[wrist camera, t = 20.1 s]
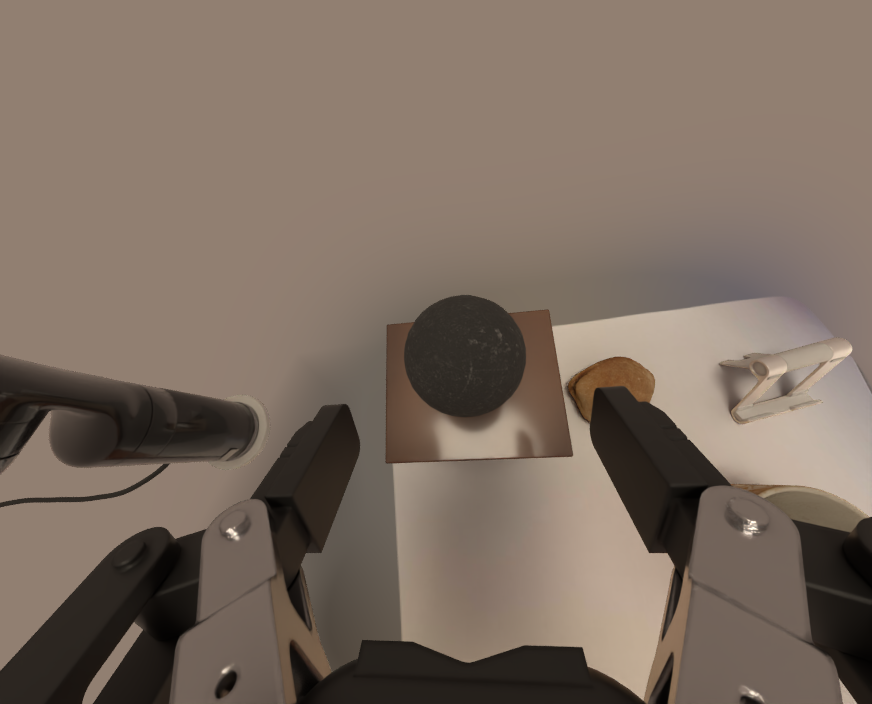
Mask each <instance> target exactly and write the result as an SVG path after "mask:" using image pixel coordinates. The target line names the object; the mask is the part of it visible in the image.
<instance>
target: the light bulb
mask: <svg viewBox="0 0 872 704" xmlns="http://www.w3.org/2000/svg"><path fill="white" fill-rule="evenodd" d="M404 363H405V369H406V374H407V376H408V378H409V381H410V383H411V385H412V388H413V389H414V390H415V392H416V393H417V394H418V395H419V396H420V398H421V399H422V400H423V401H424V402H426V403H427V404H428V405H429V406H430V407H432V408H434V409H436V410H437V411H439V412H441V413H444V414H448V415H451V416H457V417H473V416H480V415H483V414H486V413H489V412H491V411H493V410H495V409H496V408H498V407H500V406H501V405H502V404H503V403H505V402H506V401H507V400H508V399H509V398H510V397H511V396H512V395H513V394H514V392H515V391H516V389H517V388H518V386H519V384H520V382H521V380H522V377H523V373H524V369H525V365H526V347H525V343H524V339H523V335H522V333H521V330H520V328H519V327H518V325H517V324H516V322H515V321H514V319H513V318H512V317H511V316H510V315H509V314H508V313H507V312H506V311H505V310H504V309H503V308H502V307H500V306H499V305H497V304H496V303H494V302H492V301H490V300H487V299H484V298H480V297H476V296H471V295H460V296H453V297H449V298H446V299H443V300H440V301H438V302H437V303H434V304H433V305H431V306H430V307H428V308H427V309H426V310H425V311H424V312H422V313H421V314H420V316H419V317H418V318H417V319H416V320H415V322H414V324H413V325H412V327H411V329H410V330H409V332H408V336H407V339H406V342H405V347H404Z"/></svg>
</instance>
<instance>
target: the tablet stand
mask: <svg viewBox="0 0 872 704" xmlns="http://www.w3.org/2000/svg"><path fill="white" fill-rule="evenodd" d="M851 351H852V346H851V345H850V343H849V342H848V341H846V340H845V339H842V338H831V339H828V340H824V341H820V342H817V343H813V344H810V345H806V346H802V347H799V348H795V349H792V350H788V351H785V352H781V353H777V354H774V355H770V354H760V353H752V354H748V355H745V356H744V357H745V358H748V359H744V360H740V361H734V360H727V361H723V362H720V364H721V365H725V366H732V367H739V368H746V369H750V370H751V372H752V373H753V374H754V375H755V376H756V377H757V379H758V383H757V384H756V385H755V387H754V388H753V389H752V390H751V391H750V392H749V393H748V394H747V395H746V396H745V397H744V398H743V399H742V400H741V401H740V402H739V403H738V404H737V405H736V407H735V408H734V409H733V410H732V411H731V414H732V417H733V419H734V420H735V421H736V422H738V423H740V424H745V423H749V422H753V421H756V420H760V419H764V418H768V417H771V416H775V415H779V414H783V413H786V412H790V411H794V410H797V409H801V408H805V407H809V406H812V405H816V404H819V403H823V402H822V400H813V399H812V398H811V397H810V396H809V395H807V394H806V393H807V391H808V389H809V388H810V387H811V386H812V385H813V384H815V383H816V382H817V381H818V380H819V379H821V378H822V377H823V376H824V375H825V374H827V373H828V372H829V371H830V370H831V369H833V368H834V367H835V366H836V365H837V364H838V363H840V362H841V361H842V360H843V359H845V358H846V356H848V355H849V354H850V353H851ZM818 363H820V365H819V366H818V367H817V368H816V369H815V370H814V371H813V372H812V373H811V374H810V375H808V376H807V377H806V378H805V379H804V380H803V381H802V382H801V383H799V384H798V385H797V386H796V387H795V388H794V389H793V390H792V391H790V392H789V393H788V394H787V395H785V396H782V397H778V398H775V399H771V400H767V401H764V402H760V403H756V404H753V403H754V402H755V401H756V400H757V399H758V398H759V397H760V396H761V395H762V394H763V393H764V392H765V391H766V390H768V389H769V388H770V387H771V386H772V385H773V384H774V383H775V382H776V381H777V380H778V379H779V378H780V377H781V376H782V375H783V374H784V373H785V372H789V371H793V370H796V369H800V368H803V367H807V366H811V365H814V364H818Z"/></svg>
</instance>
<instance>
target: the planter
mask: <svg viewBox="0 0 872 704" xmlns="http://www.w3.org/2000/svg"><path fill="white" fill-rule="evenodd" d="M731 485H732V486H733V487H736V488H740V489H743V490H747V491H749V492H752V493H754V494H756V495H758V496H760V497H762V498H764V499H766V500H768V501H769V502H771V503H772V504H774V505H775V506H777V507H778V508H779V509H781V510H782V511H783V512H784V513H785V514H786V515H787V516H788V517H789V518H790V519H793V520H797V521H801V522H806V523H810V524H815V525H819V526H824V527H829V528H833V529H838V530H842V531H847V532H852V530H853V529H854V528H855V527H856V525H857V524H858V523H859V521H861V520H862V519H864V518H869V516H868V515H866V514H865V513H864V512H863V511H861V510H860V509H858V508H857V507H855V506H854V505H852V504H851V503H849V502H847V501H846V500H844V499H842V498H840V497H838V496H836V495H833V494H831V493H828V492H825V491H822V490H819V489H815V488H811V487H805V486H790V485H749V484H731ZM814 645H815V644H814Z"/></svg>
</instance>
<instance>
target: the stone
mask: <svg viewBox="0 0 872 704" xmlns="http://www.w3.org/2000/svg"><path fill="white" fill-rule="evenodd" d="M613 386H625V387H626V388H627V389H628V390H629V391H630V392H631V393H632V395H633V396H634V397H635V398H636V399H637V401H638V402H643V401H646V402H648V403H649V402H650V400H651V397H652V395H653V392H654V387H655V379H654V376H653V374H652V373H651V372H650V371H648V370H647V369H645V368H644V367H643V366H642V365H641V364H639V363H637V362H636V361H634V360H632V359H630V358H626V357H613V358H609V359H606V360H603V361H600V362H597V363H595V364H594V365H592V366H590V367H588V368H587V369H585V370H583V371H581V372H580V373H578V374H577V375H575V376H574V377H573V378H572V379H571V380H570V382H569V385H568V389H569V392H570V393H571V395H572V396H573V397H574V399H575V401H576V403H577V405H578V407H579V409H580V411H581V413H582V415H583V417H584V418H585V419H586V420H588V421H589V422H591V413H592V405H593V397H594V391H595V389H596V388H598V387H613Z"/></svg>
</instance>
